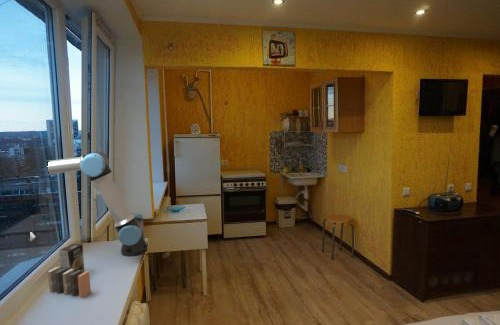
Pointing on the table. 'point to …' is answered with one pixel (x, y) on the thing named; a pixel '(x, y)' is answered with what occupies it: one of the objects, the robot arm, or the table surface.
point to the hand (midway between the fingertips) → (32, 239)
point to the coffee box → (72, 257)
